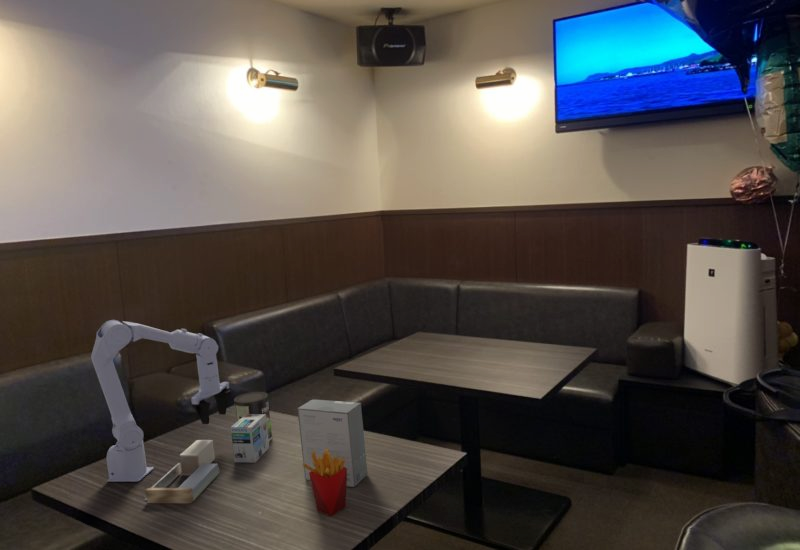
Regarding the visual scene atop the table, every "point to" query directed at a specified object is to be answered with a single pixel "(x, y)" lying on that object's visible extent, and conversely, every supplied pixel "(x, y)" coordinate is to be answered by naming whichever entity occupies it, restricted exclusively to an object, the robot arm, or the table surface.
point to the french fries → (328, 483)
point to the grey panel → (168, 478)
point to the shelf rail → (169, 495)
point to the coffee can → (253, 406)
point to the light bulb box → (250, 438)
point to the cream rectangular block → (197, 456)
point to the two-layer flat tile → (201, 478)
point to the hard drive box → (334, 435)
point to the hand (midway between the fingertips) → (214, 418)
